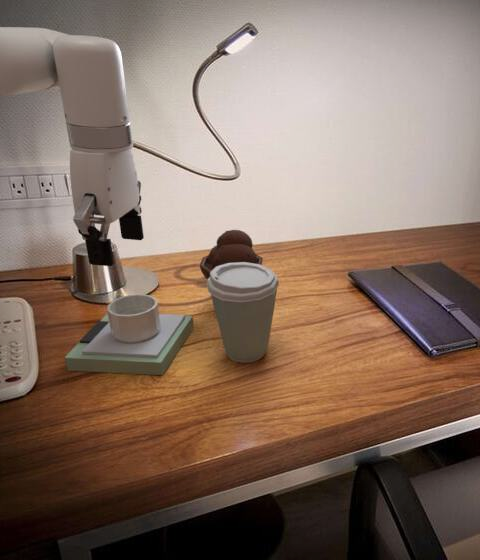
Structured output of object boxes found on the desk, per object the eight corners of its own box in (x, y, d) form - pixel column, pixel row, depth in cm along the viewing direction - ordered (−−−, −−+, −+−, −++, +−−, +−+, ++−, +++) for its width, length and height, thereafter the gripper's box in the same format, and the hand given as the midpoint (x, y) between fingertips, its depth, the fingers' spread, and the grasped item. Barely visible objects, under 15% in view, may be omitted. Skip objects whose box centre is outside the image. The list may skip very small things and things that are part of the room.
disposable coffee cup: (261, 329, 93) (257, 252, 87) (293, 357, 86) (292, 276, 80) (202, 348, 87) (194, 266, 80) (232, 381, 80) (225, 294, 73)
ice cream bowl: (199, 298, 101) (192, 225, 95) (258, 290, 106) (255, 220, 100) (208, 325, 93) (201, 247, 86) (271, 315, 98) (269, 240, 91)
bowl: (104, 342, 81) (98, 314, 79) (124, 319, 87) (119, 293, 85) (150, 345, 81) (146, 317, 79) (167, 322, 87) (164, 295, 85)
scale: (67, 370, 79) (63, 354, 77) (111, 322, 91) (108, 307, 90) (163, 375, 80) (160, 359, 78) (194, 327, 92) (192, 312, 91)
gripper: (103, 122, 79) (119, 228, 86) (32, 146, 63) (59, 274, 71) (155, 127, 79) (166, 232, 87) (97, 153, 64) (116, 278, 71)
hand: (118, 251), depth 79 cm, fingers open, 9 cm apart
